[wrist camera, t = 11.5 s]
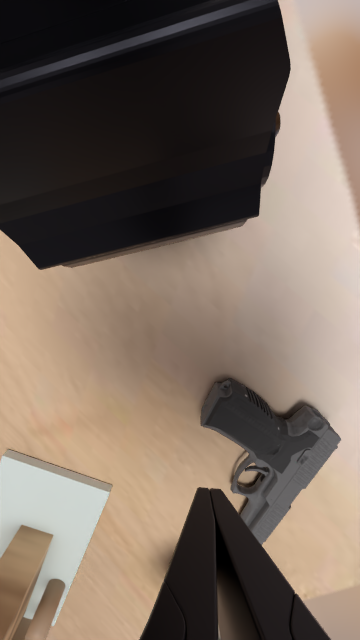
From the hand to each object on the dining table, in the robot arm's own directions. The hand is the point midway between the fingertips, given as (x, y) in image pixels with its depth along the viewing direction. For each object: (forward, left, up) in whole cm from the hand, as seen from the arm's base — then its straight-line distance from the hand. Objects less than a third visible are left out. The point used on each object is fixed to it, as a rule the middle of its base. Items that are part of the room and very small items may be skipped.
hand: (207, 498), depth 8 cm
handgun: (+11, +5, -14) cm, 18 cm away
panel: (+24, -16, -13) cm, 31 cm away
